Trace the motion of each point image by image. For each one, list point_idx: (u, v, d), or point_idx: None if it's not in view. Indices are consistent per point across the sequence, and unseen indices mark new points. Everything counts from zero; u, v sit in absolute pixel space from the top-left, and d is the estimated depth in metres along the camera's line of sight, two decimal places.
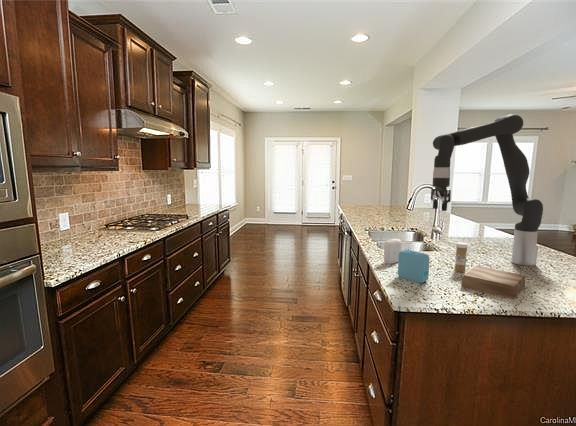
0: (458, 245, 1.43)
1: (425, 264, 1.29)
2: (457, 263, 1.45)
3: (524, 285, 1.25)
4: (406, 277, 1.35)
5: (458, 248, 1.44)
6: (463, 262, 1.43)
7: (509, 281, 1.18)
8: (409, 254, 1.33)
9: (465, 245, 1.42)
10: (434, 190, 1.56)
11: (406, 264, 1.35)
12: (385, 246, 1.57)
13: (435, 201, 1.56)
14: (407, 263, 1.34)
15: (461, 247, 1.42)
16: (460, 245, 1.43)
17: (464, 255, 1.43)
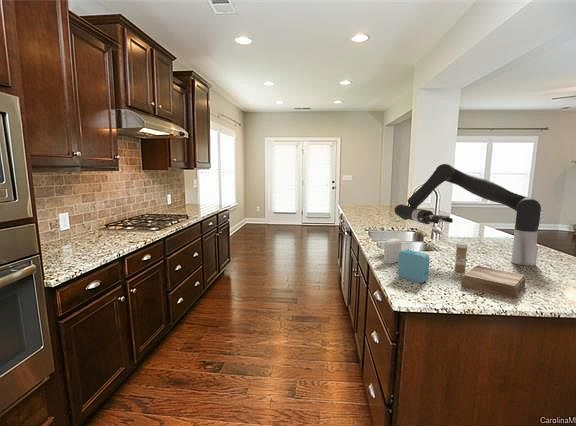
0: (458, 245, 1.43)
1: (425, 264, 1.29)
2: (457, 263, 1.45)
3: (524, 285, 1.25)
4: (406, 277, 1.35)
5: (458, 248, 1.44)
6: (463, 262, 1.43)
7: (509, 281, 1.18)
8: (409, 254, 1.33)
9: (465, 245, 1.42)
10: (439, 218, 1.64)
11: (406, 264, 1.35)
12: (385, 246, 1.57)
13: (445, 219, 1.58)
14: (408, 263, 1.34)
15: (461, 247, 1.42)
16: (460, 245, 1.43)
17: (464, 255, 1.43)
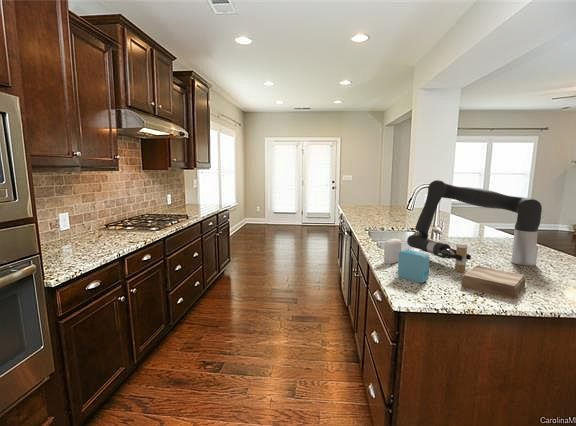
0: (458, 245, 1.43)
1: (425, 264, 1.29)
2: (457, 263, 1.45)
3: (524, 285, 1.25)
4: (406, 277, 1.35)
5: (458, 248, 1.44)
6: (463, 262, 1.43)
7: (509, 281, 1.18)
8: (409, 254, 1.33)
9: (465, 245, 1.42)
10: None
11: (406, 264, 1.35)
12: (385, 246, 1.57)
13: None
14: (407, 263, 1.34)
15: (461, 247, 1.42)
16: (460, 245, 1.43)
17: (464, 255, 1.43)
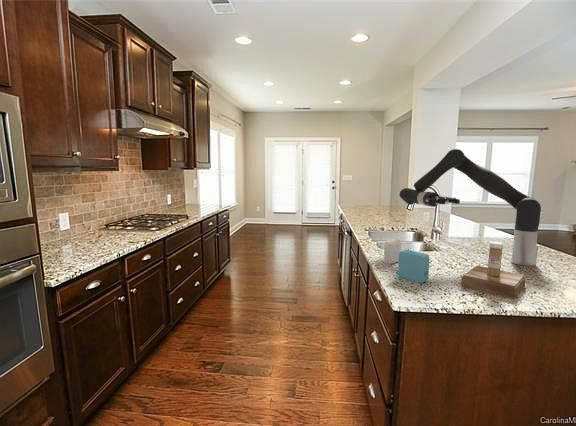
0: (492, 245, 1.23)
1: (425, 264, 1.29)
2: (491, 266, 1.24)
3: (524, 285, 1.25)
4: (406, 277, 1.35)
5: (492, 248, 1.23)
6: (498, 264, 1.23)
7: (509, 281, 1.18)
8: (409, 254, 1.33)
9: (501, 245, 1.22)
10: (446, 200, 1.60)
11: (406, 264, 1.35)
12: (385, 246, 1.57)
13: (452, 201, 1.54)
14: (407, 263, 1.34)
15: (496, 247, 1.22)
16: (495, 245, 1.22)
17: (499, 257, 1.22)
